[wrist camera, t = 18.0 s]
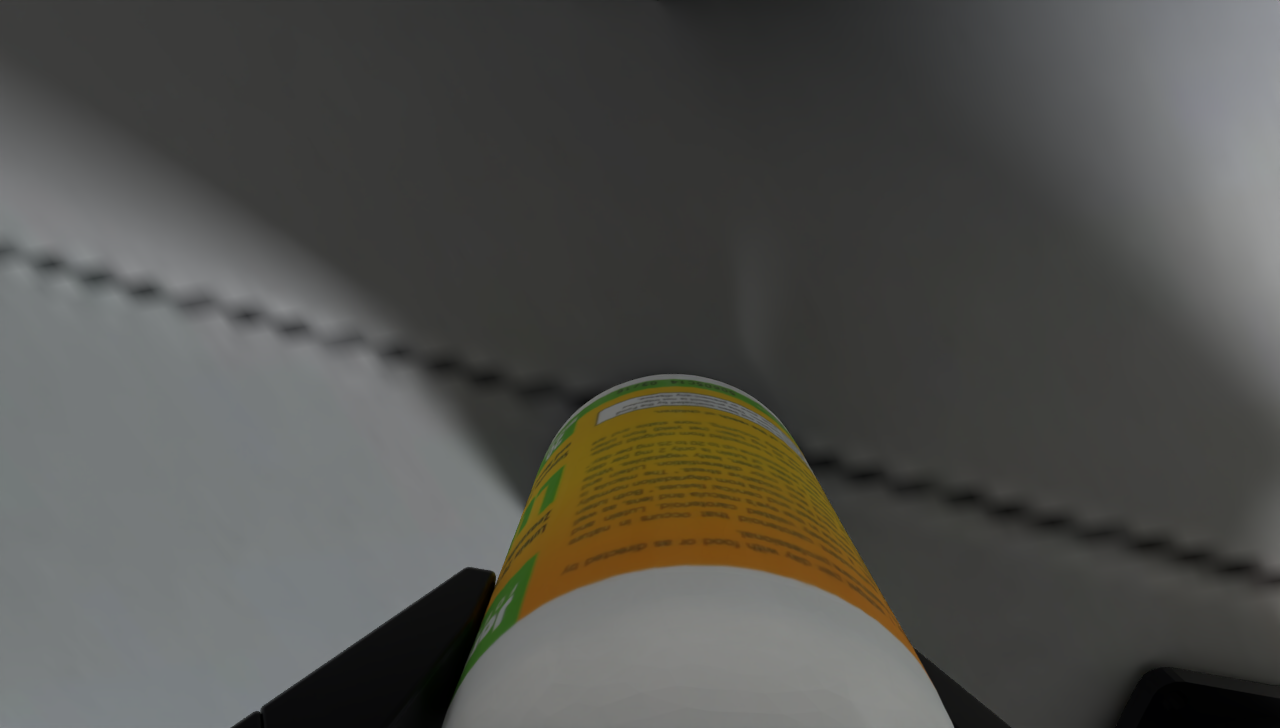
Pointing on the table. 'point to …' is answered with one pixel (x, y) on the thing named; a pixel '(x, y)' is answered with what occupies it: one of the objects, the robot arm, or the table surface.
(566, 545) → the supplement bottle
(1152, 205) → the table surface
